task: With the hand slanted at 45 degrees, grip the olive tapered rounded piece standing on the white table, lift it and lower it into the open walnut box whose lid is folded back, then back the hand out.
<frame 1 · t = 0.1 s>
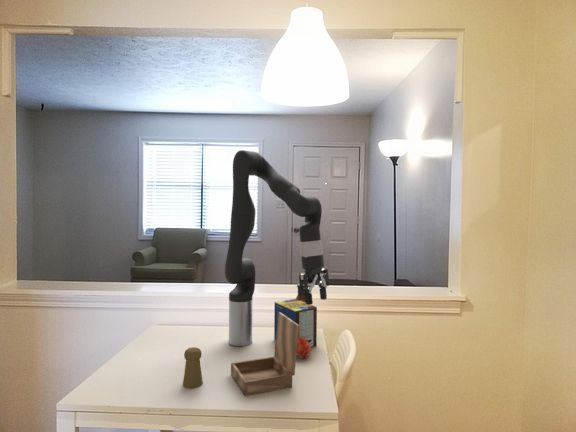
hand: (316, 301, 140), 22 cm above the table, tool pointing down, fingers open, 8 cm apart
walnut box: (260, 380, 129), on the table
sauce bottle: (302, 329, 180), on the table
protein box: (294, 343, 164), on the table
box lid: (286, 342, 132), point 11 cm above the table, hinge at 95.3°, touching walnut box
olive tapered rounded piece: (192, 384, 127), on the table
pomegranate: (300, 357, 149), on the table
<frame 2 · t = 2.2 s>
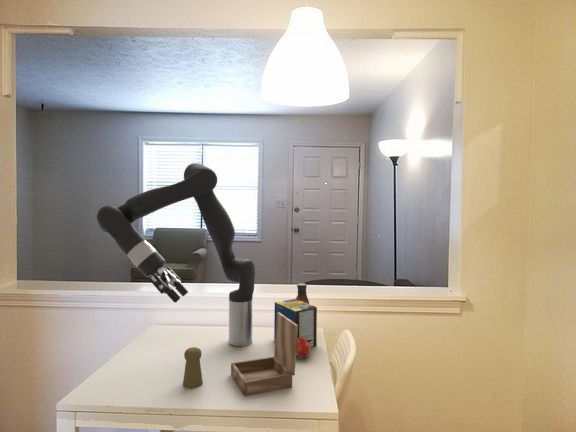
hand: (182, 297, 127), 27 cm above the table, tool tilted 45°, fingers open, 8 cm apart
box lid: (285, 342, 132), point 11 cm above the table, hinge at 93.5°, touching walnut box
everything else where it was.
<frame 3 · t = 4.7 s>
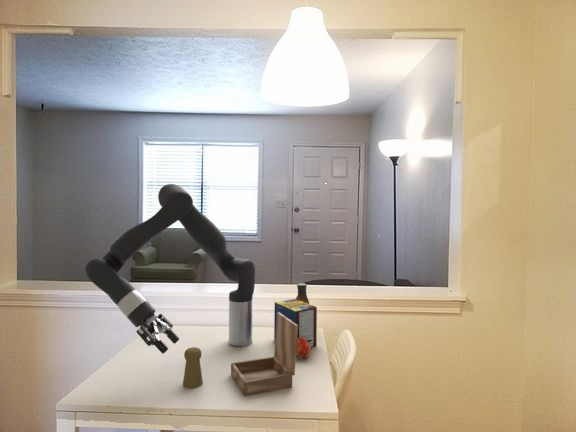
hand: (171, 346, 127), 11 cm above the table, tool tilted 45°, fingers open, 8 cm apart
nothing on the table moved.
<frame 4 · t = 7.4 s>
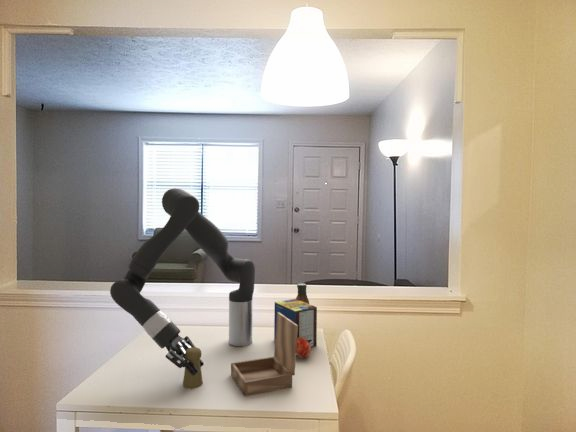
hand: (198, 369, 127), 5 cm above the table, tool tilted 45°, fingers closed on olive tapered rounded piece, 4 cm apart
olive tapered rounded piece: (192, 384, 127), on the table, touching gripper
everything else where it was.
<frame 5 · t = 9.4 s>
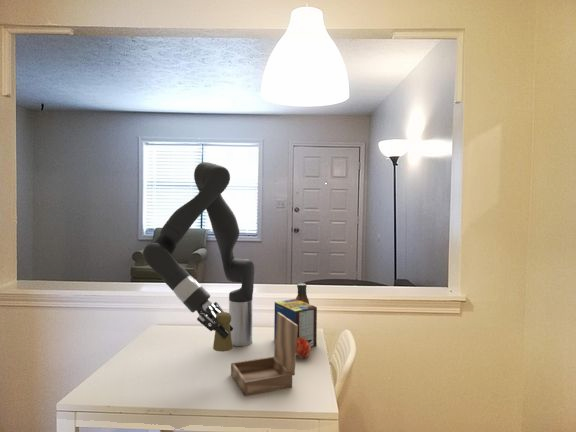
hand: (228, 333, 127), 15 cm above the table, tool tilted 45°, fingers closed on olive tapered rounded piece, 4 cm apart
olive tapered rounded piece: (222, 348, 128), point 11 cm above the table, touching gripper
everything else where it was.
when the fingers open (7 cm above the table, at t = 12.3 s): olive tapered rounded piece drops 1 cm, resting on walnut box.
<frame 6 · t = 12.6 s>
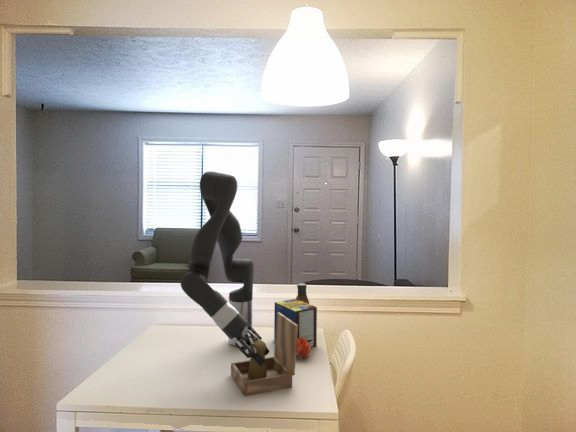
hand: (265, 358, 129), 7 cm above the table, tool tilted 45°, fingers open, 7 cm apart
olive tapered rounded piece: (257, 375, 131), point 1 cm above the table, touching gripper, walnut box
everything else where it was.
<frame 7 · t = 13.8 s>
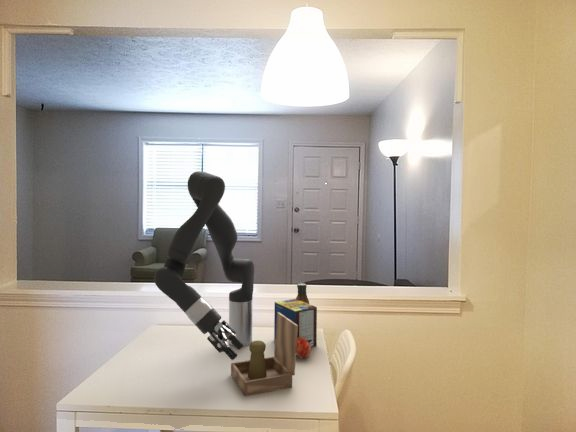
hand: (238, 352, 130), 9 cm above the table, tool tilted 45°, fingers open, 8 cm apart
olive tapered rounded piece: (257, 376, 131), point 1 cm above the table, touching walnut box
everything else where it was.
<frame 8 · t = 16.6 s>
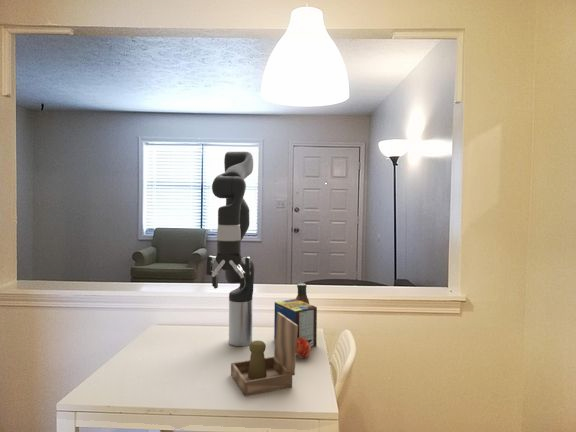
hand: (228, 288, 133), 28 cm above the table, tool pointing down, fingers open, 8 cm apart
nothing on the table moved.
at the end: olive tapered rounded piece inside the target area on the walnut box (2.3 cm from its centre), point 0.6 cm above the walnut box's base; olive tapered rounded piece tilted 0°; the gripper is holding nothing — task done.
